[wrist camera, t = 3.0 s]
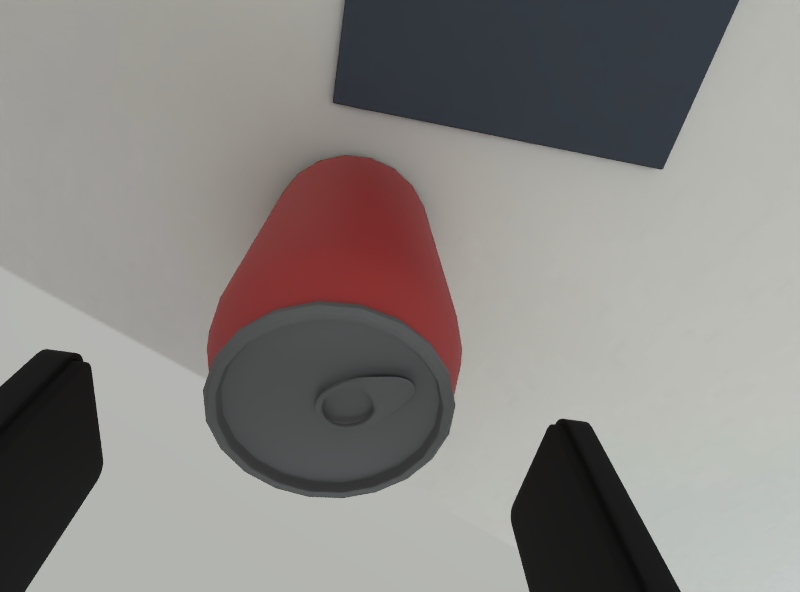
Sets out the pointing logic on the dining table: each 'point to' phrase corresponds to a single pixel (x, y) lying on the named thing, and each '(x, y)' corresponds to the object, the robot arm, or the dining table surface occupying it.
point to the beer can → (336, 338)
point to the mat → (536, 68)
